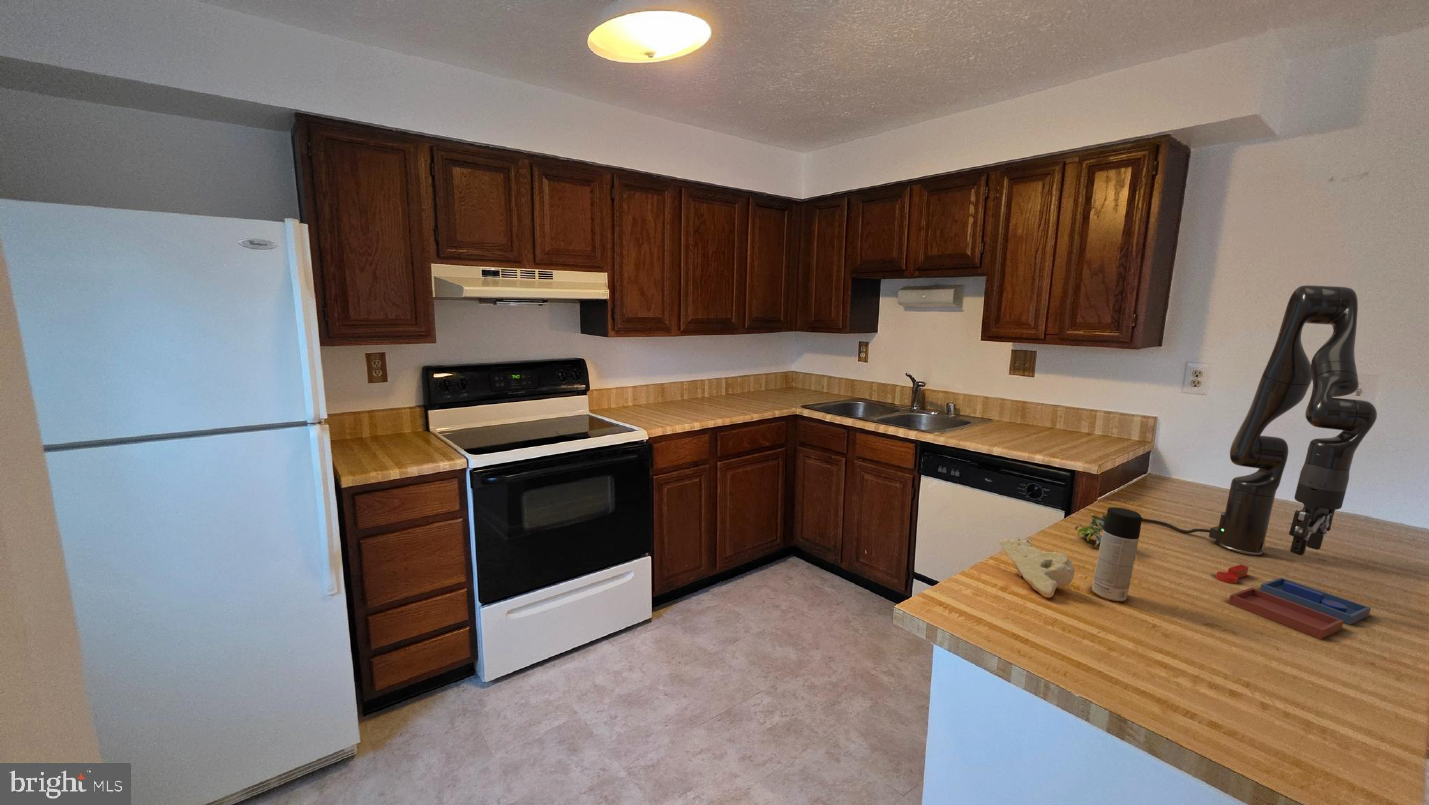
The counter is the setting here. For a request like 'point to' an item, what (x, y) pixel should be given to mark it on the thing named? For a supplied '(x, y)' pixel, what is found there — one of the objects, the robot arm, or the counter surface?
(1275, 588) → the blue tray
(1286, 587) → the blue spoon
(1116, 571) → the spray can
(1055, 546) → the counter surface
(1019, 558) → the bone fragment
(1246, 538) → the robot arm
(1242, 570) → the red spoon
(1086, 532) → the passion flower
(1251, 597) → the red tray
